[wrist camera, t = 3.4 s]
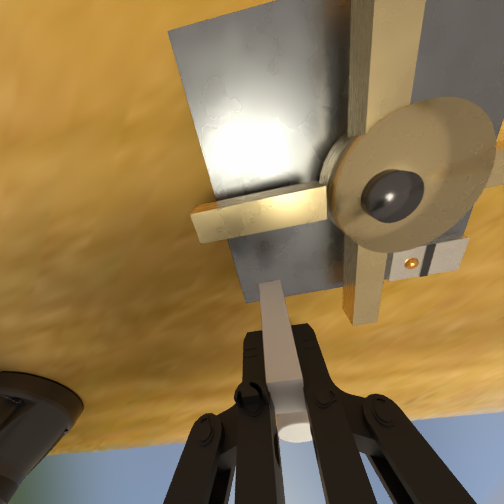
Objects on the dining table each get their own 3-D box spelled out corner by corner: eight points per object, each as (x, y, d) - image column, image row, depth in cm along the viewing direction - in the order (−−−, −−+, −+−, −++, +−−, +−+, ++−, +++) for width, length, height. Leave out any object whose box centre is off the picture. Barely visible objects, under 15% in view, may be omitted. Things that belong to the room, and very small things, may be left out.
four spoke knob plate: (238, 317, 20) (236, 360, 16) (133, -1, 9) (52, -108, 5) (467, 279, 18) (529, 316, 14) (644, -154, 8) (1049, -459, 4)
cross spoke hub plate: (246, 290, 22) (246, 313, 19) (178, 47, 12) (157, 15, 9) (433, 257, 20) (466, 276, 17) (520, -47, 11) (624, -120, 8)
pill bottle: (274, 319, 24) (289, 414, 15) (311, 330, 25) (344, 425, 17) (255, 345, 26) (260, 441, 18) (290, 355, 28) (310, 449, 19)
